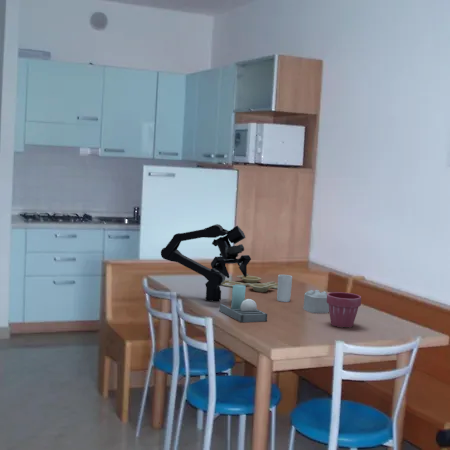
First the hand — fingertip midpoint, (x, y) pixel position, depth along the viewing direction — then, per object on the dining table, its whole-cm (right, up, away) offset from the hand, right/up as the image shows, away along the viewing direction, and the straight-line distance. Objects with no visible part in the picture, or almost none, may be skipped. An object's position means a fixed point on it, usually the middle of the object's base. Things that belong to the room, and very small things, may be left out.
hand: (237, 277), depth 314 cm
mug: (+22, -13, +25) cm, 35 cm away
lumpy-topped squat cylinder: (+36, -16, +7) cm, 39 cm away
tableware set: (+10, -10, +56) cm, 58 cm away
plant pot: (+43, -19, -20) cm, 51 cm away
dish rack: (+2, -15, -15) cm, 22 cm away
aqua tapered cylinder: (0, -15, -11) cm, 18 cm away
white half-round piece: (+4, -16, -16) cm, 23 cm away
